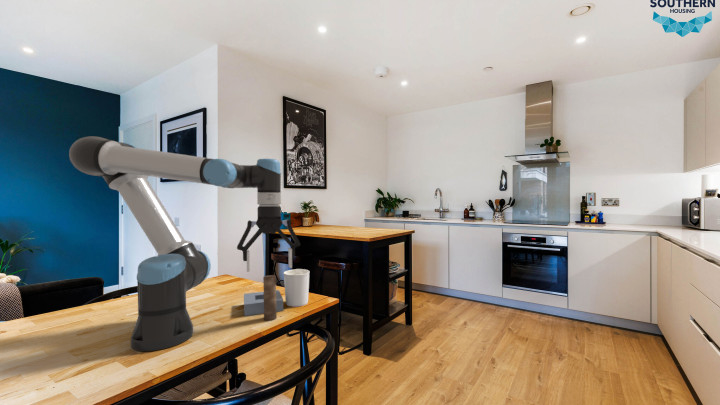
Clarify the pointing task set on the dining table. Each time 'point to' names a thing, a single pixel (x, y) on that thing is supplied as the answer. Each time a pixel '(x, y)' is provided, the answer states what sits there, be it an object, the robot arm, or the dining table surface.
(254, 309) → the socket block
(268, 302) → the peg
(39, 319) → the dining table surface
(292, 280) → the candle holder
